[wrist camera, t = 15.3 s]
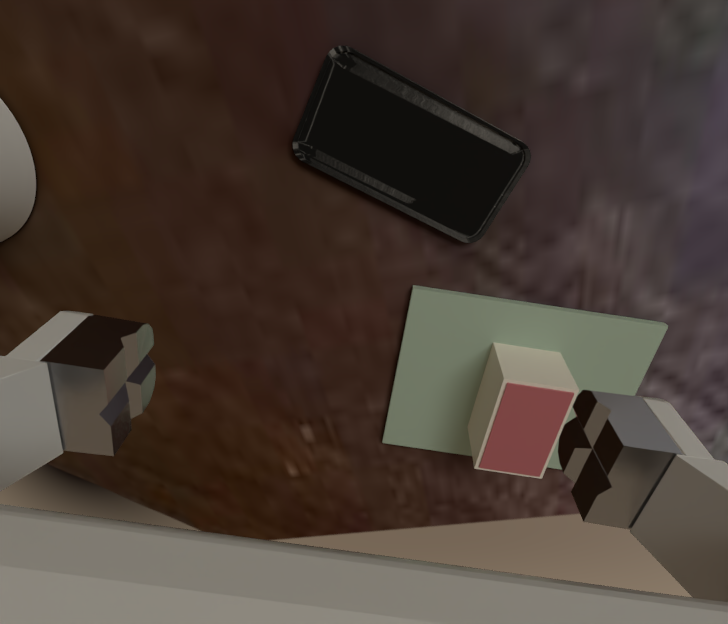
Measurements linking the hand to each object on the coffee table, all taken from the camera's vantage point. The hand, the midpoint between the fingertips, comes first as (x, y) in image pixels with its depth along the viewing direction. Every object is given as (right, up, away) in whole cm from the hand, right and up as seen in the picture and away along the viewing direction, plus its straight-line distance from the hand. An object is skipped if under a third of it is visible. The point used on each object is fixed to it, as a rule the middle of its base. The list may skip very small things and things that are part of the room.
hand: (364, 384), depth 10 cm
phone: (+3, +13, +26) cm, 29 cm away
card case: (+13, -5, +33) cm, 36 cm away
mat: (+13, -5, +34) cm, 36 cm away
